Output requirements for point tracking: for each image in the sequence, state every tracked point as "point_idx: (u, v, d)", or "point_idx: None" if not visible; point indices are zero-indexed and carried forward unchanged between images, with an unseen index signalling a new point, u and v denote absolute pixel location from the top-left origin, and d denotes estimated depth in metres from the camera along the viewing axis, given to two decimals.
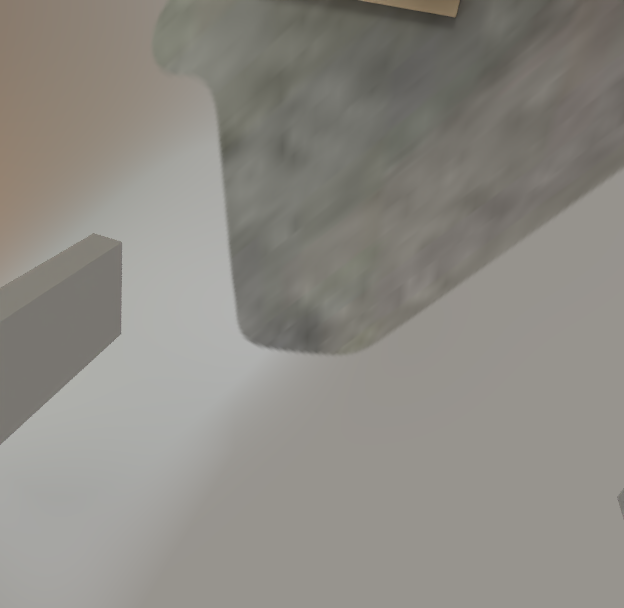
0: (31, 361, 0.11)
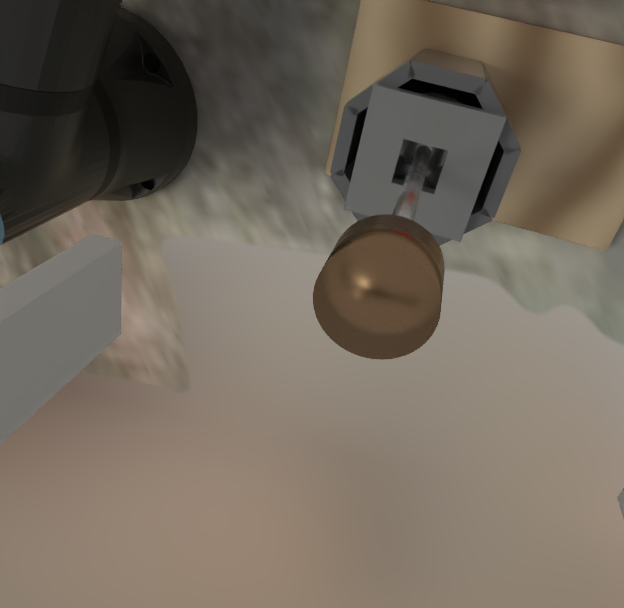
0: (31, 361, 0.11)
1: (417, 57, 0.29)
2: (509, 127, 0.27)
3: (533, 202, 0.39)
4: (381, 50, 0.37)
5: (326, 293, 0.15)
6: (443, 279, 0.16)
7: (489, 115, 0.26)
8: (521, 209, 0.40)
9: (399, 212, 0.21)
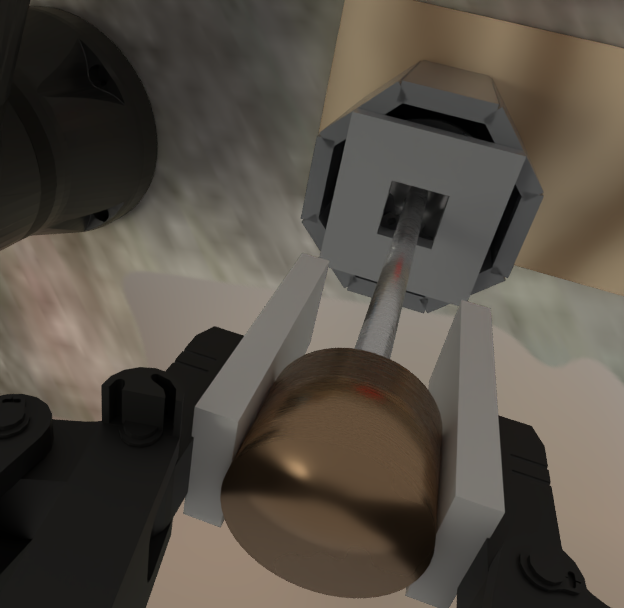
0: None
1: (410, 74, 0.23)
2: (529, 166, 0.21)
3: (551, 242, 0.33)
4: (369, 62, 0.31)
5: (241, 499, 0.09)
6: (440, 457, 0.10)
7: (503, 152, 0.20)
8: (536, 250, 0.34)
9: (379, 306, 0.14)
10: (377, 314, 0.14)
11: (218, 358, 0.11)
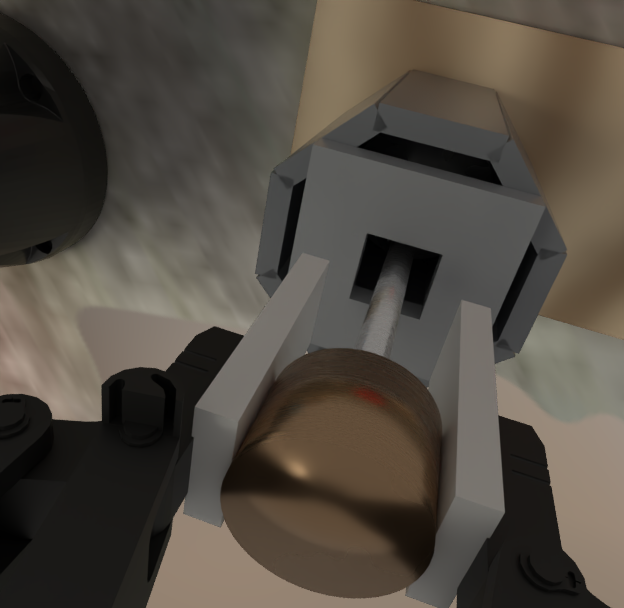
0: None
1: (392, 92, 0.18)
2: (548, 217, 0.16)
3: (566, 285, 0.28)
4: (348, 72, 0.26)
5: (241, 499, 0.09)
6: (440, 457, 0.10)
7: (514, 200, 0.15)
8: (548, 293, 0.28)
9: (379, 307, 0.14)
10: (377, 314, 0.14)
11: (218, 358, 0.11)
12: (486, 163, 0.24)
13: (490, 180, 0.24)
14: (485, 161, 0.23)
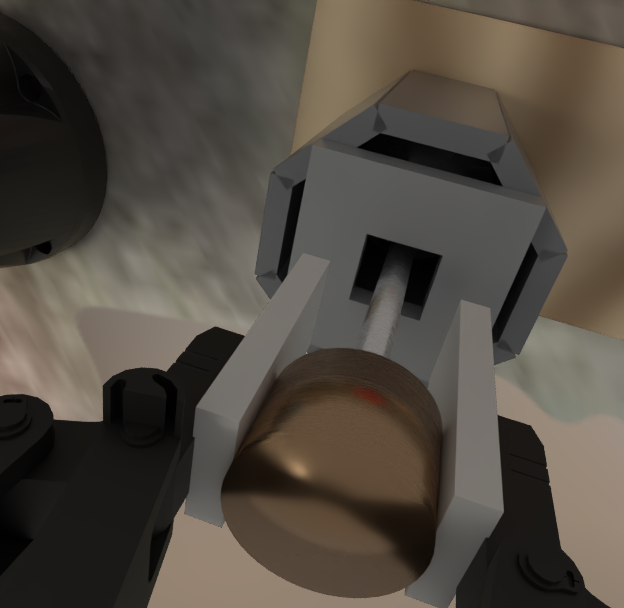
0: None
1: (392, 92, 0.18)
2: (548, 217, 0.16)
3: (566, 285, 0.28)
4: (348, 72, 0.26)
5: (241, 499, 0.09)
6: (440, 457, 0.10)
7: (514, 201, 0.15)
8: (549, 294, 0.28)
9: (379, 306, 0.14)
10: (377, 314, 0.14)
11: (219, 358, 0.11)
12: (486, 163, 0.24)
13: (490, 180, 0.24)
14: (485, 161, 0.24)
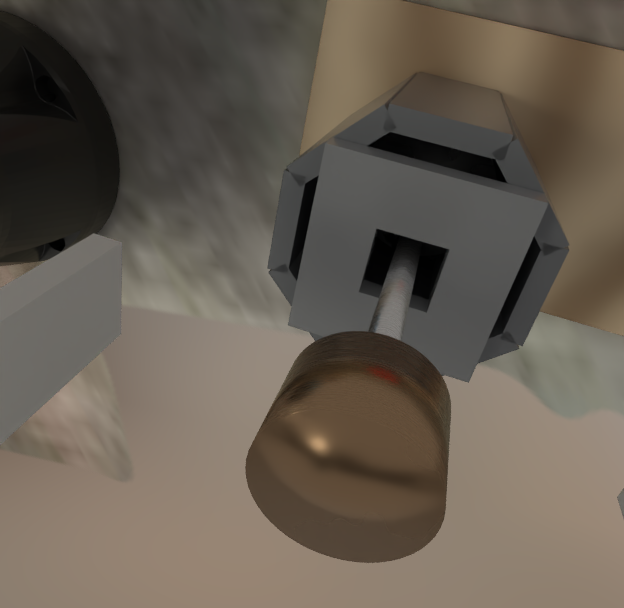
0: (31, 361, 0.11)
1: (401, 93, 0.18)
2: (551, 213, 0.17)
3: (568, 282, 0.28)
4: (357, 74, 0.26)
5: (265, 468, 0.10)
6: (449, 433, 0.11)
7: (518, 197, 0.16)
8: (551, 290, 0.29)
9: (389, 297, 0.15)
10: (387, 304, 0.15)
11: None
12: (490, 162, 0.24)
13: (494, 179, 0.25)
14: (490, 160, 0.24)
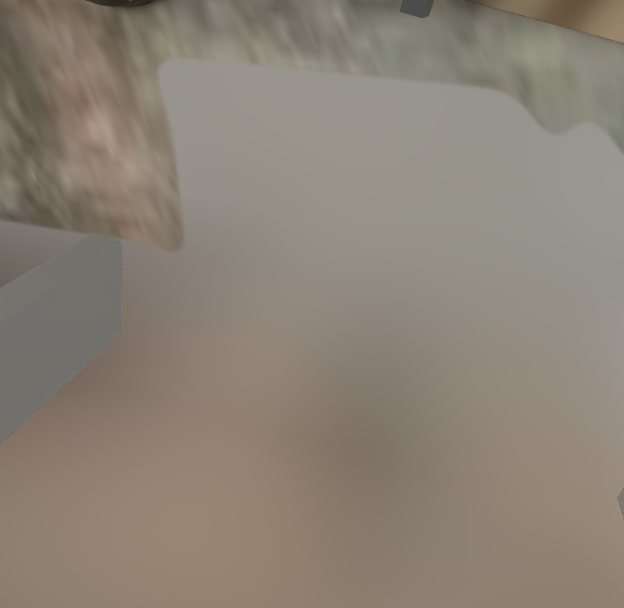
0: (31, 361, 0.11)
1: None
2: None
3: None
4: None
5: None
6: None
7: None
8: None
9: None
10: None
11: None
12: None
13: None
14: None
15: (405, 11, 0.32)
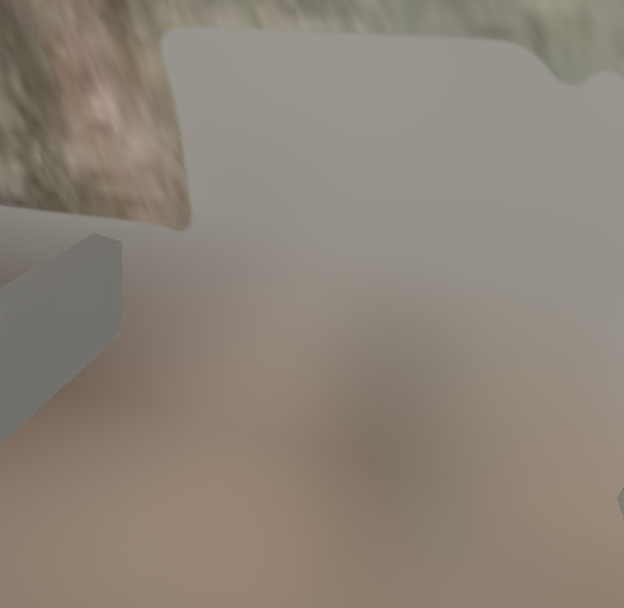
0: (31, 361, 0.11)
1: None
2: None
3: None
4: None
5: None
6: None
7: None
8: None
9: None
10: None
11: None
12: None
13: None
14: None
15: None
